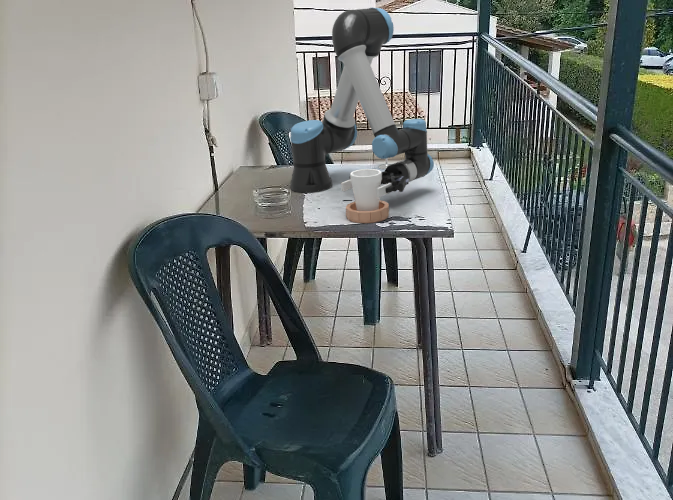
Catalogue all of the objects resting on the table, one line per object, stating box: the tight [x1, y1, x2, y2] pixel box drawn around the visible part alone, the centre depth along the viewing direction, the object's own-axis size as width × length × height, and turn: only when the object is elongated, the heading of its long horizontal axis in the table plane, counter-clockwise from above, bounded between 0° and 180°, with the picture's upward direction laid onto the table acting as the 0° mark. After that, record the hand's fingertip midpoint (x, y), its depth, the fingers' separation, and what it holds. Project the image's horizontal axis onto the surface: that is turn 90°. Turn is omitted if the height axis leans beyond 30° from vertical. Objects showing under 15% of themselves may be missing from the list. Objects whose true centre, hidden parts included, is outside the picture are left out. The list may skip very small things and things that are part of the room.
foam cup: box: [349, 168, 383, 211], centre depth 195 cm, size 10×9×13 cm
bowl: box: [345, 199, 390, 224], centre depth 197 cm, size 13×13×3 cm
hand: (359, 190), depth 192 cm, fingers open, 13 cm apart
